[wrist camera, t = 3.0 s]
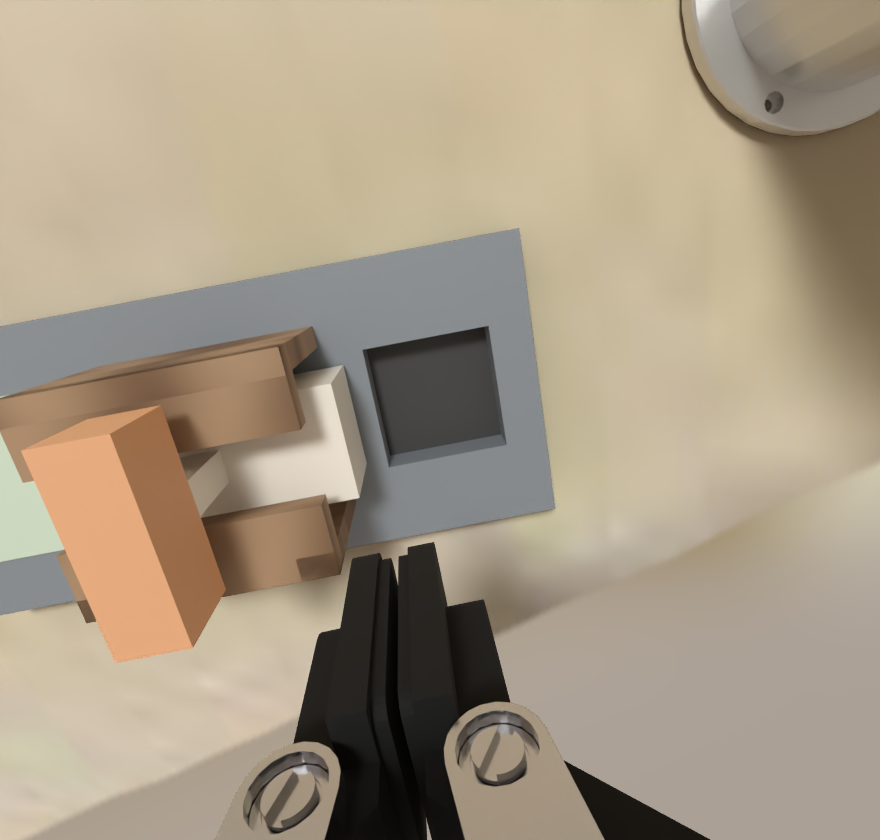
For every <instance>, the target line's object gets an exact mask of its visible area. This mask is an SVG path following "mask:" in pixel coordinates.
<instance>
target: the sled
mask: <svg viewBox="0 0 880 840" xmlns="http://www.w3.org/2000/svg"><path fill="white" fill-rule="evenodd" d="M294 379H295V383H296V386H297V390H298V394H299V398H300V401H301V405H302V409H303V412H304V416H305V420H306V423H305V424H304V426H303V427H302V429H301V430H297V431H292V432H287V433H282V434H277V435H271V436H266V437H261V438H256V439H250V440H245V441H240V442H235V443H229V444H224V445H219V446H214V447H208V448H203V449H198V450H193V451H188V452H182V453H178V452H177V449H176V446H175V443H174V440H173V438H172V435H171V432H170V429H169V426H168V423H167V420H166V418H165V415H164V412H163V409H162V406H161V405H159V406H154V407H149V408H143V409H138V410H133V411H128V412H122V413H117V414H112V415H107V416H101V417H96V418H91V419H87V420H85V421H83V422H80V423H78V424H76V425H74V426H72V427H70V428H68V429H66V430H64V431H62V432H59V433H57V434H55V435H53V436H51V437H49V438H47V439H45V440H43V441H40V442H38V443H36V444H34V445H32V446H30V447H28V448H26V449H24V450H22V451H21V452H22V455H23V457H24V459H25V461H26V464H27V466H28V468H29V470H30V473H31V475H32V477H33V479H34V482H35V484H36V486H37V488H38V491H39V493H40V495H41V497H42V500H43V502H44V504H45V506H46V509H47V511H48V513H49V515H50V518H51V520H52V522H53V524H54V527H55V529H56V531H57V533H58V535H59V538H60V540H61V542H62V544H63V547H64V549H65V551H66V553H67V556H68V558H69V560H70V562H71V565H72V567H73V569H74V571H75V574H76V576H77V578H78V580H79V583H80V585H81V587H82V589H83V592H84V594H85V596H86V598H87V601H88V603H89V605H90V607H91V610H92V612H93V614H94V616H95V619H96V621H97V623H98V625H99V628H100V630H101V632H102V634H103V637H104V639H105V641H106V643H107V646H108V648H109V650H110V652H111V654H112V657H113V659H114V661H115V663H118V662H123V661H128V660H133V659H139V658H144V657H149V656H154V655H159V654H165V653H170V652H175V651H180V650H185V649H191V648H193V647H194V645H195V643H196V642H197V640H198V638H199V636H200V634H201V633H202V631H203V629H204V627H205V626H206V624H207V622H208V620H209V619H210V617H211V615H212V613H213V611H214V610H215V608H216V606H217V604H218V603H219V601H220V599H221V597H222V596H223V594H224V592H225V590H226V588H225V586H224V583H223V580H222V577H221V574H220V571H219V568H218V566H217V563H216V560H215V557H214V554H213V551H212V549H211V546H210V543H209V540H208V537H207V534H206V531H205V529H204V526H203V523H202V520H201V518H203V517H209V516H214V515H219V514H224V513H230V512H235V511H240V510H245V509H250V508H256V507H261V506H266V505H271V504H277V503H282V502H287V501H292V500H297V499H303V498H308V497H313V496H318V495H323V494H326V498H327V502H328V504H331V503H336V502H342V501H347V500H352V499H357V498H360V493H361V488H362V484H363V479H364V474H365V469H366V465H367V462H366V458H365V454H364V450H363V446H362V441H361V437H360V433H359V429H358V425H357V421H356V416H355V412H354V408H353V404H352V400H351V395H350V391H349V387H348V383H347V379H346V375H345V370H344V366H343V365H341V366H336V367H330V368H325V369H320V370H315V371H309V372H304V373H299V374H294Z"/></svg>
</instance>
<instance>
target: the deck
mask: <svg viewBox="0 0 880 840" xmlns="http://www.w3.org/2000/svg"><path fill="white" fill-rule="evenodd" d="M309 326H312V327H313V331H314V335H315V339H316V343H317V348H316V349H315V350H314V351H313V352H312V353H311V354H309V355H308V356H307V357H306V358H305V359H304V360H303V361H302V362H300V363H299V364H298V365H297V366H296V367H295V368H294V369H293V370H292V372H293V375H294V374H299V373H304V372H309V371H315V370H320V369H325V368H330V367H336V366H341V365H343V366H344V370H345V375H346V379H347V383H348V387H349V391H350V395H351V400H352V404H353V408H354V412H355V416H356V421H357V425H358V429H359V433H360V437H361V441H362V446H363V450H364V454H365V458H366V462H367V465H366V469H365V474H364V479H363V484H362V488H361V493H360V498H357V499H356V506H355V510H354V515H353V519H352V524H351V528H350V533H349V537H348V542H347V546H346V549H348V548H353V547H358V546H363V545H368V544H374V543H379V542H384V541H389V540H394V539H400V538H405V537H410V536H415V535H420V534H426V533H431V532H436V531H441V530H447V529H452V528H457V527H462V526H467V525H473V524H478V523H483V522H488V521H493V520H499V519H504V518H509V517H514V516H519V515H525V514H530V513H535V512H540V511H545V510H551V509H555V503H554V496H553V488H552V480H551V472H550V464H549V457H548V449H547V441H546V433H545V426H544V418H543V410H542V402H541V394H540V387H539V379H538V371H537V363H536V356H535V348H534V340H533V332H532V324H531V317H530V309H529V301H528V293H527V286H526V278H525V270H524V262H523V254H522V247H521V239H520V231H519V228H517V229H512V230H506V231H501V232H496V233H491V234H485V235H480V236H475V237H470V238H464V239H459V240H454V241H448V242H443V243H438V244H433V245H427V246H422V247H417V248H412V249H406V250H401V251H396V252H390V253H385V254H380V255H375V256H369V257H364V258H359V259H354V260H348V261H343V262H338V263H332V264H327V265H322V266H317V267H311V268H306V269H301V270H296V271H290V272H285V273H280V274H275V275H269V276H264V277H259V278H253V279H248V280H243V281H238V282H232V283H227V284H222V285H217V286H211V287H206V288H201V289H195V290H190V291H185V292H180V293H174V294H169V295H164V296H159V297H153V298H148V299H143V300H137V301H132V302H127V303H122V304H116V305H111V306H106V307H101V308H95V309H90V310H85V311H79V312H74V313H69V314H64V315H58V316H53V317H48V318H43V319H37V320H32V321H27V322H21V323H16V324H11V325H6V326H0V398H2V397H5V396H8V395H11V394H14V393H17V392H20V391H24V390H27V389H30V388H33V387H36V386H39V385H42V384H45V383H48V382H51V381H55V380H58V379H61V378H64V377H67V376H70V375H73V374H76V373H79V372H83V371H86V370H89V369H92V368H95V367H99V366H104V365H109V364H115V363H120V362H125V361H130V360H136V359H141V358H146V357H151V356H157V355H162V354H167V353H172V352H178V351H183V350H188V349H193V348H199V347H204V346H209V345H214V344H220V343H225V342H230V341H235V340H241V339H246V338H251V337H257V336H262V335H267V334H272V333H278V332H283V331H288V330H293V329H299V328H304V327H309ZM63 550H64V547H63V544H62V542H61V540H60V538H59V535H58V533H57V531H56V529H55V527H54V524H53V522H52V520H51V518H50V515H49V513H48V511H47V509H46V506H45V504H44V502H43V500H42V497H41V495H40V493H39V491H38V488H37V486H36V484H35V482H34V481H31V482H25V483H23V482H22V480H21V477H20V475H19V473H18V471H17V469H16V466H15V464H14V462H13V460H12V458H11V455H10V453H9V451H8V449H7V447H6V444H5V442H4V440H3V438H2V435H1V433H0V615H4V614H9V613H14V612H20V611H25V610H30V609H35V608H40V607H46V606H51V605H56V604H61V603H66V602H72V601H76V599H75V597H74V595H73V592H72V590H71V588H70V586H69V583H68V581H67V579H66V577H65V575H64V572H63V570H62V568H61V566H60V564H59V561H58V559H57V557H56V556H57V555H58V554H60V553H61V552H62V551H63Z"/></svg>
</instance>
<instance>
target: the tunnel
mask: <svg viewBox="0 0 880 840" xmlns="http://www.w3.org/2000/svg"><path fill="white" fill-rule="evenodd" d="M316 348H317V343H316V339H315V335H314V331H313V327H312V326H309V327H304V328H299V329H293V330H288V331H283V332H278V333H272V334H267V335H262V336H257V337H251V338H246V339H241V340H235V341H230V342H225V343H220V344H214V345H209V346H204V347H199V348H193V349H188V350H183V351H178V352H172V353H167V354H162V355H157V356H151V357H146V358H141V359H136V360H130V361H125V362H120V363H115V364H109V365H104V366H99V367H95V368H92V369H89V370H86V371H83V372H79V373H76V374H73V375H70V376H67V377H64V378H61V379H58V380H55V381H51V382H48V383H45V384H42V385H39V386H36V387H33V388H30V389H27V390H24V391H20V392H17V393H14V394H11V395H8V396H5V397H2V398H0V433H1V435H2V438H3V440H4V442H5V444H6V447H7V449H8V451H9V453H10V455H11V458H12V460H13V462H14V464H15V466H16V469H17V471H18V473H19V475H20V477H21V480H22V482H23V483H25V482H31V481H34V479H33V477H32V475H31V473H30V470H29V468H28V466H27V464H26V461H25V459H24V457H23V455H22V452H21V451H22V450H24V449H26V448H28V447H30V446H32V445H34V444H36V443H38V442H40V441H43V440H45V439H47V438H49V437H51V436H53V435H55V434H57V433H59V432H62V431H64V430H66V429H68V428H70V427H72V426H74V425H76V424H78V423H80V422H83V421H85V420H87V419H91V418H96V417H101V416H107V415H112V414H117V413H122V412H128V411H133V410H138V409H143V408H149V407H154V406H159V405H161V406H162V409H163V412H164V415H165V418H166V420H167V423H168V426H169V429H170V432H171V435H172V438H173V440H174V443H175V446H176V449H177V452H178V453H182V452H188V451H193V450H198V449H203V448H208V447H214V446H219V445H224V444H229V443H235V442H240V441H245V440H250V439H256V438H261V437H266V436H271V435H277V434H282V433H287V432H292V431H297V430H301V429H302V427H303V426H304V424H305V423H306V420H305V416H304V412H303V409H302V405H301V401H300V398H299V394H298V390H297V386H296V383H295V379H294V375H293V372H292V370H293V369H294V368H295V367H296V366H297V365H298V364H299V363H300V362H302V361H303V360H304V359H305V358H306V357H307V356H308V355H309V354H311V353H312V352H313V351H314V350H315V349H316ZM355 506H356V499H352V500H347V501H342V502H336V503H331V504H328V502H327V498H326V494H323V495H318V496H313V497H308V498H303V499H297V500H292V501H287V502H282V503H277V504H271V505H266V506H261V507H256V508H250V509H245V510H240V511H235V512H230V513H224V514H219V515H214V516H209V517H203V518H201V520H202V523H203V526H204V529H205V531H206V534H207V537H208V540H209V543H210V546H211V549H212V551H213V554H214V557H215V560H216V563H217V566H218V568H219V571H220V574H221V577H222V580H223V583H224V586H225V588H226V590H225V592H224V594H223V596H222V597H226V596H231V595H236V594H241V593H246V592H252V591H257V590H262V589H267V588H272V587H278V586H283V585H288V584H293V583H298V582H304V581H309V580H314V579H319V578H324V577H330V576H335V575H340V573H341V569H342V564H343V560H344V555H345V551H346V546H347V542H348V537H349V533H350V528H351V524H352V519H353V515H354V510H355ZM56 557H57V559H58V561H59V564H60V566H61V568H62V570H63V572H64V575H65V577H66V579H67V581H68V583H69V586H70V588H71V590H72V592H73V595H74V597H75V599H76V601H77V603H78V606H79V608H80V610H81V612H82V614H83V617H84V619H85V621H86V623H90V622H96V619H95V616H94V614H93V612H92V610H91V607H90V605H89V603H88V601H87V598H86V596H85V594H84V592H83V589H82V587H81V585H80V583H79V580H78V578H77V576H76V574H75V571H74V569H73V567H72V565H71V562H70V560H69V558H68V556H67V553H66V551H65V549H64V550H63V551H62V552H61V553H60V554H58V555H57V556H56Z"/></svg>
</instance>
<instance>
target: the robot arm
mask: <svg viewBox="0 0 880 840" xmlns="http://www.w3.org/2000/svg"><path fill="white" fill-rule="evenodd" d="M682 14H683V21H684V27H685V33H686V39H687V43H688V46H689V48H690V51H691V54H692V57H693V60H694V63H695V66H696V68H697V70H698V72H699V73H700V75H701V77H702V78H703V80H704V82H705V84H706V85H707V87H708V89H709V90H710V92H711V93H712V94H713V95H714V96H715V97H716V98H717V99H718V101H719V102H720V103H721V104H722V105H723V106H724V107H725V108H726V109H727V110H728V111H729V112H731V113H732V114H734V115H735V116H737V117H738V118H739V119H741V120H742V121H744V122H745V123H747V124H749V125H751V126H754V127H756V128H759V129H761V130H764V131H767V132H769V133H775V134H783V135H790V136H800V135H812V134H820V133H823V132H827V131H830V130H834V129H837V128H841V127H845V126H847V125H849V124H852V123H854V122H857V121H859V120H862V119H864V118H867V117H869V116H871V115H873V114H874V113H876V112H877V111H879V110H880V0H682ZM426 818H427V822H428V826H429V830H430V834H431V838H432V840H710V839H708V838H706V837H704V836H702V835H701V834H699V833H697V832H695V831H693V830H692V829H689V828H688V827H686V826H684V825H682V824H680V823H678V822H676V821H675V820H673V819H671V818H669V817H667V816H666V815H664V814H661V813H660V812H658V811H656V810H654V809H653V808H651V807H649V806H647V805H645V804H643V803H642V802H640V801H638V800H636V799H634V798H632V797H630V796H629V795H627V794H625V793H623V792H621V791H619V790H618V789H616V788H614V787H612V786H610V785H608V784H606V783H605V782H602V781H601V780H599V779H597V778H595V777H593V776H592V775H590V774H588V773H586V772H584V771H582V770H581V769H578V768H577V767H575V766H573V765H571V764H569V763H567V762H566V761H564V760H563V759H562V757H561V755H560V753H559V751H558V749H557V747H556V745H555V743H554V741H553V739H552V737H551V735H550V733H549V732H548V730H547V728H546V726H545V725H544V724H543V722H542V721H541V720H540V718H539V717H538V716H537V715H535V714H534V713H533V712H531V711H530V710H528V709H527V708H525V707H523V706H520V705H517V704H514V703H510V699H509V695H508V692H507V688H506V684H505V680H504V676H503V673H502V668H501V664H500V660H499V656H498V653H497V649H496V645H495V641H494V637H493V633H492V629H491V625H490V621H489V618H488V614H487V610H486V606H485V602H484V600H478V601H473V602H468V603H463V604H458V605H454V606H449V607H448V606H447V601H446V596H445V592H444V587H443V582H442V577H441V572H440V567H439V563H438V558H437V553H436V548H435V544H434V542H432V543H427V544H422V545H417V546H412V547H408V555H404V556H399V568H398V583H397V579H396V574H395V570H394V566H393V562H392V559H391V558H389V559H384V560H382V557H381V555H380V553H377V554H372V555H368V556H363V557H358V558H353V559H352V563H351V569H350V575H349V580H348V586H347V592H346V598H345V604H344V610H343V616H342V621H341V627H340V629H336V630H331V631H326V632H322V633H320V634H319V636H318V639H317V643H316V647H315V651H314V656H313V660H312V665H311V669H310V673H309V678H308V682H307V686H306V691H305V695H304V700H303V704H302V708H301V713H300V717H299V721H298V726H297V730H296V735H295V739H294V743H293V744H291V745H288V746H286V747H283V748H281V749H279V750H277V751H275V752H273V753H272V754H270V755H269V756H268V757H266V758H265V759H264V760H262V761H261V762H260V763H258V764H257V765H256V766H255V768H254V769H253V770H252V771H251V772H250V773H249V774H248V775H247V776H246V777H245V779H244V781H243V782H242V784H241V786H240V787H239V789H238V791H237V792H236V794H235V796H234V799H233V801H232V803H231V805H230V807H229V810H228V812H227V814H226V816H225V818H224V821H223V823H222V825H221V827H220V829H219V831H218V834H217V836H216V838H215V840H427V827H426Z"/></svg>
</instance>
